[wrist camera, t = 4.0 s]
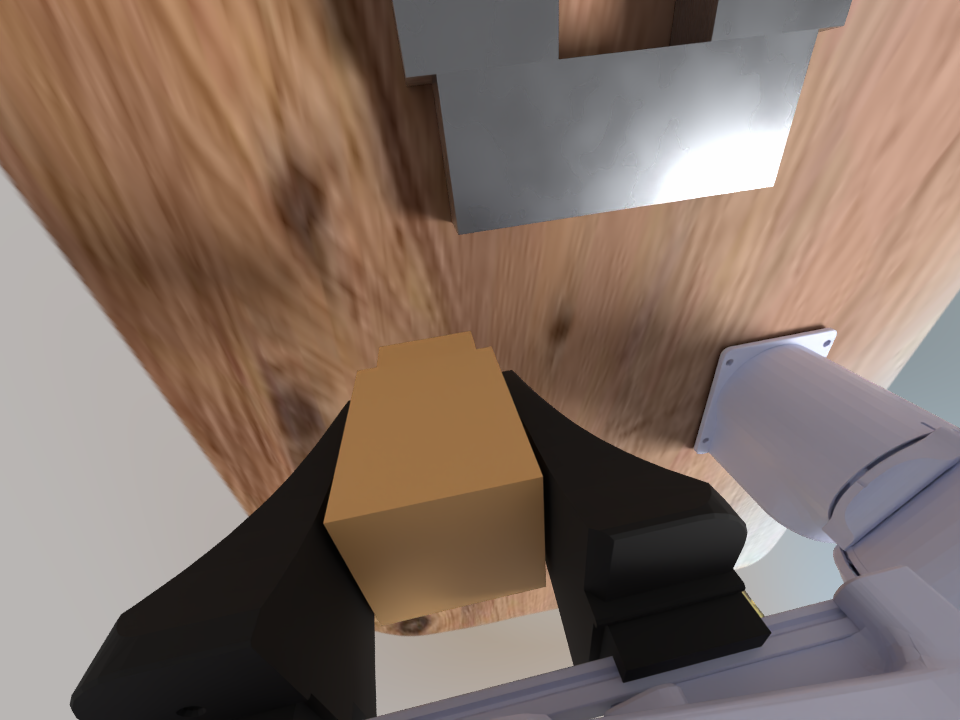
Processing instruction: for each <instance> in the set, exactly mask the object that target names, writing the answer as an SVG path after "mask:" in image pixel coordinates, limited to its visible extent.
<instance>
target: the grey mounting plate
mask: <svg viewBox="0 0 960 720" xmlns="http://www.w3.org/2000/svg"><path fill="white" fill-rule="evenodd" d="M391 2H392V8H393V13H394V19H395V25H396V30H397V36H398V42H399V47H400V53H401V59H402V64H403V70H404V76H405V81H406V87H408V86H416V85H424V84H432V86H433V93H434V100H435V107H436V114H437V121H438V128H439V135H440V141H441V148H442V155H443V162H444V169H445V176H446V183H447V190H448V196H449V203H450V210H451V217H452V223H453V225H454V227H455V229H456V231H457V233H458V235H461V234H467V233H474V232H480V231H486V230H493V229H499V228H506V227H512V226H519V225H525V224H531V223H538V222H544V221H551V220H557V219H564V218H570V217H576V216H583V215H589V214H596V213H602V212H609V211H615V210H621V209H628V208H634V207H641V206H647V205H653V204H660V203H666V202H673V201H679V200H686V199H692V198H698V197H705V196H711V195H718V194H724V193H731V192H737V191H743V190H750V189H756V188H763V187H769V186H773V185H774V182H775V178H776V175H777V171H778V168H779V165H780V161H781V158H782V154H783V151H784V147H785V144H786V140H787V137H788V134H789V130H790V127H791V123H792V120H793V116H794V113H795V110H796V106H797V103H798V99H799V96H800V92H801V89H802V86H803V82H804V79H805V75H806V72H807V68H808V65H809V62H810V58H811V55H812V51H813V48H814V44H815V41H816V38H817V34H818V32H822V31H825V30H829V29H833V28H837V27H841V26H844V24H845V21H846V18H847V15H848V11H849V8H850V5H851V2H852V0H676V2H675V10H674V18H673V26H672V33H671V41H670V46H669V47H660V48H652V49H643V50H635V51H626V52H618V53H609V54H601V55H593V56H584V57H576V58H567V59H559V0H391Z"/></svg>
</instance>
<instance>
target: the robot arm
mask: <svg viewBox="0 0 960 720" xmlns="http://www.w3.org/2000/svg"><path fill="white" fill-rule="evenodd" d="M836 335H837V331H836V330H834V329H832V328H824V329H819V330H814V331H809V332H803V333H798V334H793V335H788V336H783V337H778V338H772V339H767V340H762V341H757V342H752V343H746V344H741V345H736V346H731V347H728V348H725V349H724V350H723V351H722V353H721V355H720V358H719V362H718V365H717V369H716V372H715V376H714V379H713V383H712V386H711V390H710V393H709V397H708V400H707V404H706V407H705V411H704V414H703V418H702V421H701V425H700V428H699V432H698V435H697V439H696V442H695V446H694V450H695V451H696V453H697V454H704V453H708V452H709V453H710V454H711V455H712V456H713V457H714V458H715V459H716V461H717V462H718V463H719V464H720V465H721V466H722V467H723V468H724V469H725V470H726V471H727V472H728V473H729V474H730V475H731V476H732V477H733V478H734V479H735V480H736V481H737V483H738V484H739V485H740V486H741V487H742V488H743V489H744V490H745V491H746V492H747V493H748V494H749V495H750V496H751V497H752V498H753V499H754V500H755V501H756V502H757V503H758V505H759V506H760V507H761V508H762V509H763V510H764V511H765V512H766V513H767V514H768V515H770V516H771V517H772V518H773V519H774V520H776V521H777V522H778V523H780V524H781V525H783V526H785V527H786V528H788V529H790V530H792V531H793V532H795V533H797V534H799V535H802V536H804V537H806V538H809V539H812V540H816V541H821V542H827V543H836V544H837V546H836V547H835V548H834V550H833V557H834V560H835V564H836V566H837V568H838V570H839V572H840V575H841V577H842V579H843V581H844V584H842V585H841V586H840V587H839V588H838V590H837V591H836V593H835V594H834V597H833V599H832V600H828V601H824V602H820V603H816V604H812V605H808V606H804V607H801V608H796V609H793V610H789V611H785V612H781V613H778V614H774V615H769V616H765V617H762V618H761V617H760V616H759V615H758V613H757V612H756V611H755V609H754V608H753V607H752V605H751V604H750V602H749V601H748V600H747V598H746V597H745V596H744V594H743V593H742V592H743V591H744V590H745V585H744V583H743V581H742V580H741V578H740V577H739V576H738V575H737V573H736V572H735V570H734V569H733V567H734V565H735V563H736V561H737V559H738V557H739V555H740V553H741V551H742V549H743V547H744V544H745V541H746V537H747V528H746V524H745V523H744V521H743V520H742V519H741V518H740V517H739V516H738V514H737V513H736V512H735V511H734V510H733V509H732V507H731V506H730V505H729V504H728V503H727V502H726V500H725V499H724V498H723V497H722V496H721V495H720V494H719V493H718V492H717V491H716V490H715V489H714V488H713V487H712V486H711V485H710V484H709V483H707V482H704V481H701V480H698V479H695V478H692V477H689V476H686V475H683V474H680V473H677V472H674V471H671V470H668V469H665V468H663V467H660V466H658V465H655V464H653V463H650V462H648V461H645V460H643V459H641V458H638V457H636V456H634V455H632V454H629V453H627V452H625V451H623V450H621V449H619V448H617V447H615V446H613V445H611V444H609V443H607V442H605V441H603V440H601V439H600V438H598V437H596V436H594V435H593V434H591V433H589V432H588V431H586V430H584V429H583V428H581V427H580V426H578V425H577V424H575V423H574V422H572V421H571V420H569V419H568V418H567V417H565V416H564V415H563V414H561V413H560V412H559V411H557V410H556V409H555V408H553V407H552V406H551V405H550V404H549V403H547V402H546V401H545V400H544V399H543V398H541V397H540V396H539V395H538V394H537V393H536V392H534V391H533V390H532V389H531V388H530V387H529V386H528V385H527V384H526V383H525V382H524V381H523V380H522V379H521V378H520V377H519V376H518V375H517V374H516V373H515V372H513V371H512V370H510V371H505V372H502V374H503V377H504V379H505V382H506V385H507V387H508V390H509V392H510V395H511V397H512V400H513V402H514V405H515V407H516V410H517V412H518V415H519V417H520V420H521V422H522V425H523V427H524V430H525V433H526V435H527V438H528V440H529V443H530V445H531V448H532V450H533V453H534V455H535V458H536V460H537V463H538V465H539V468H540V470H541V473H542V475H543V496H544V532H545V561H546V565H547V568H548V572H549V575H550V579H551V582H552V586H553V590H554V593H555V597H556V601H557V605H558V608H559V612H560V616H561V619H562V623H563V626H564V631H565V634H566V638H567V642H568V646H569V650H570V654H571V657H572V661H573V665H574V666H572V667H568V668H564V669H560V670H556V671H552V672H549V673H545V674H541V675H537V676H533V677H529V678H525V679H522V680H517V681H513V682H509V683H506V684H502V685H498V686H494V687H490V688H486V689H482V690H479V691H475V692H471V693H467V694H463V695H459V696H455V697H451V698H447V699H444V700H440V701H436V702H432V703H428V704H424V705H420V706H416V707H412V708H409V709H405V710H401V711H397V712H393V713H390V714H385V715H381V716H378V717H377V714H376V685H375V684H376V682H375V627H374V612H373V610H372V609H371V607H370V605H369V603H368V602H367V600H366V598H365V596H364V595H363V593H362V591H361V589H360V587H359V586H358V584H357V582H356V580H355V579H354V577H353V575H352V573H351V572H350V570H349V568H348V566H347V565H346V563H345V561H344V559H343V557H342V556H341V554H340V552H339V550H338V549H337V547H336V545H335V543H334V542H333V540H332V538H331V536H330V534H329V533H328V531H327V529H326V527H325V526H324V524H323V523H324V518H325V514H326V509H327V505H328V500H329V496H330V491H331V487H332V483H333V478H334V474H335V469H336V465H337V460H338V456H339V451H340V447H341V442H342V438H343V433H344V429H345V424H346V420H347V415H348V411H349V406H350V402H351V400H350V401H348V402H347V404H346V405H345V406H344V408H343V409H342V410H341V412H340V413H339V414H338V416H337V417H336V419H335V420H334V421H333V423H332V424H331V426H330V427H329V428H328V430H327V431H326V432H325V434H324V435H323V436H322V438H321V439H320V440H319V442H318V443H317V444H316V446H315V447H314V448H313V450H312V451H311V452H310V453H309V454H308V456H307V457H306V458H305V459H304V460H303V462H302V463H301V464H300V465H299V466H298V467H297V469H296V470H295V471H294V472H293V473H292V475H291V476H290V477H289V478H288V479H287V480H286V481H285V482H284V483H283V484H282V485H281V486H280V487H279V488H278V489H277V490H276V491H275V492H274V494H273V495H272V496H271V497H270V498H269V499H268V500H267V501H266V502H265V503H263V504H262V505H261V506H260V507H259V508H258V509H257V510H256V511H255V512H254V513H253V514H251V515H250V516H249V517H248V518H247V519H246V520H245V521H244V522H243V523H241V524H240V525H239V526H238V527H237V528H236V529H235V530H234V531H233V532H232V533H230V534H229V535H228V536H227V537H226V538H224V539H223V540H222V541H221V542H219V543H218V544H217V545H216V546H215V547H213V548H212V549H211V550H210V551H208V552H207V553H206V554H204V555H203V556H202V557H201V558H199V559H198V560H197V561H195V562H194V563H193V564H192V565H190V566H189V567H188V568H186V569H185V570H184V571H182V572H181V573H180V574H178V575H177V576H176V577H174V578H173V579H171V580H170V581H169V582H167V583H166V584H164V585H163V586H161V587H160V588H159V589H157V590H156V591H154V592H153V593H152V594H150V595H149V596H147V597H146V598H145V599H143V600H142V601H140V602H139V603H137V604H136V605H135V606H133V607H132V608H130V609H129V610H127V611H126V612H124V613H123V614H121V616H120V617H119V619H118V620H117V622H116V623H115V625H114V627H113V628H112V630H111V632H110V633H109V635H108V636H107V638H106V640H105V642H104V643H103V645H102V646H101V648H100V650H99V651H98V653H97V654H96V656H95V658H94V659H93V661H92V663H91V664H90V666H89V668H88V669H87V671H86V673H85V674H84V676H83V678H82V679H81V681H80V683H79V684H78V686H77V688H76V689H75V691H74V693H73V694H72V697H71V701H70V707H71V709H72V711H73V713H74V715H75V716H76V718H77V719H79V720H960V428H958V427H957V426H955V425H953V424H951V423H949V422H947V421H945V420H943V419H941V418H939V417H937V416H936V415H934V414H932V413H930V412H928V411H926V410H924V409H922V408H920V407H918V406H917V405H915V404H913V403H911V402H909V401H907V400H905V399H903V398H902V397H900V396H898V395H896V394H894V393H892V392H890V391H888V390H886V389H884V388H883V387H881V386H879V385H877V384H875V383H873V382H871V381H869V380H867V379H865V378H864V377H862V376H860V375H858V374H856V373H854V372H852V371H850V370H848V369H846V368H844V367H843V366H841V365H839V364H837V363H835V362H833V361H831V360H829V359H827V358H826V356H827V354H828V352H829V350H830V348H831V346H832V344H833V341H834V339H835V337H836ZM603 715H604V717H601V718H596V717H599V716H603ZM592 718H594V719H592ZM595 718H596V719H595Z"/></svg>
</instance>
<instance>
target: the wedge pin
mask: <svg viewBox="0 0 960 720" xmlns="http://www.w3.org/2000/svg"><path fill="white" fill-rule="evenodd" d="M323 524H324V526H325V527H326V529H327V531H328V533H329V534H330V536H331V538H332V540H333V542H334V543H335V545H336V547H337V549H338V550H339V552H340V554H341V556H342V557H343V559H344V561H345V563H346V565H347V566H348V568H349V570H350V572H351V573H352V575H353V577H354V579H355V580H356V582H357V584H358V586H359V587H360V589H361V591H362V593H363V595H364V596H365V598H366V600H367V602H368V603H369V605H370V607H371V609H372V610H373V612H374V614H375V616H376V618H377V619H378V621H379V623H380V625H381V626H383V625H387V624H392V623H396V622H400V621H404V620H408V619H412V618H417V617H421V616H425V615H429V614H433V613H438V612H442V611H446V610H450V609H454V608H458V607H463V606H467V605H471V604H475V603H479V602H484V601H488V600H492V599H496V598H500V597H504V596H509V595H513V594H517V593H521V592H525V591H530V590H534V589H538V588H542V587H546V569H545V532H544V496H543V475H542V473H541V470H540V468H539V465H538V463H537V460H536V458H535V455H534V453H533V450H532V448H531V445H530V443H529V440H528V438H527V435H526V433H525V430H524V427H523V425H522V422H521V420H520V417H519V415H518V412H517V410H516V407H515V405H514V402H513V400H512V397H511V395H510V392H509V390H508V387H507V385H506V382H505V379H504V377H503V374H502V372H501V369H500V367H499V364H498V362H497V359H496V357H495V354H494V352H493V349H492V347H486V348H480V349H476V346H475V343H474V340H473V337H472V334H471V331H467V332H462V333H456V334H450V335H445V336H439V337H433V338H428V339H422V340H416V341H411V342H405V343H399V344H394V345H388V346H382V347H379V353H378V360H377V367H376V368H370V369H364V370H359V371H357V375H356V379H355V384H354V388H353V393H352V397H351V402H350V406H349V411H348V415H347V420H346V424H345V429H344V433H343V438H342V442H341V447H340V451H339V456H338V460H337V465H336V469H335V474H334V478H333V483H332V487H331V491H330V496H329V500H328V505H327V509H326V514H325V518H324V523H323Z"/></svg>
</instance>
